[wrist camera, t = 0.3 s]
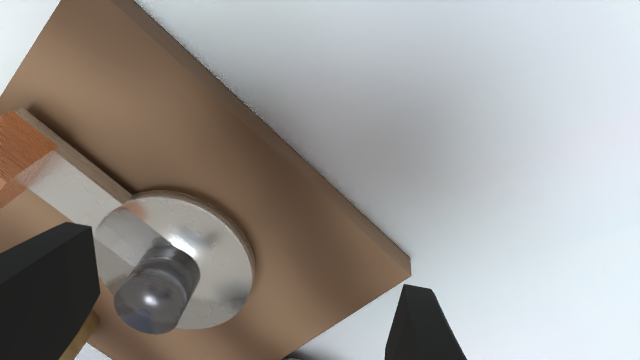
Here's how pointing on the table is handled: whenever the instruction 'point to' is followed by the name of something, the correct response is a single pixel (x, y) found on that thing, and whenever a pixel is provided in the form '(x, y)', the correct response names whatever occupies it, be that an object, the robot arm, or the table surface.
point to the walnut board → (194, 183)
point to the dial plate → (134, 233)
